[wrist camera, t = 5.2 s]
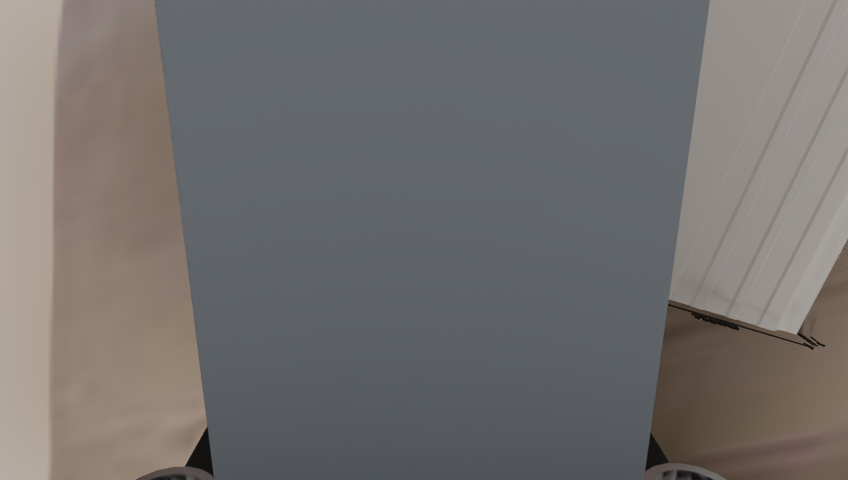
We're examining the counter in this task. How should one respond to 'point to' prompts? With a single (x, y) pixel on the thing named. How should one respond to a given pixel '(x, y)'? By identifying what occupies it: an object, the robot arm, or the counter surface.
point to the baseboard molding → (766, 163)
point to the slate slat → (430, 229)
